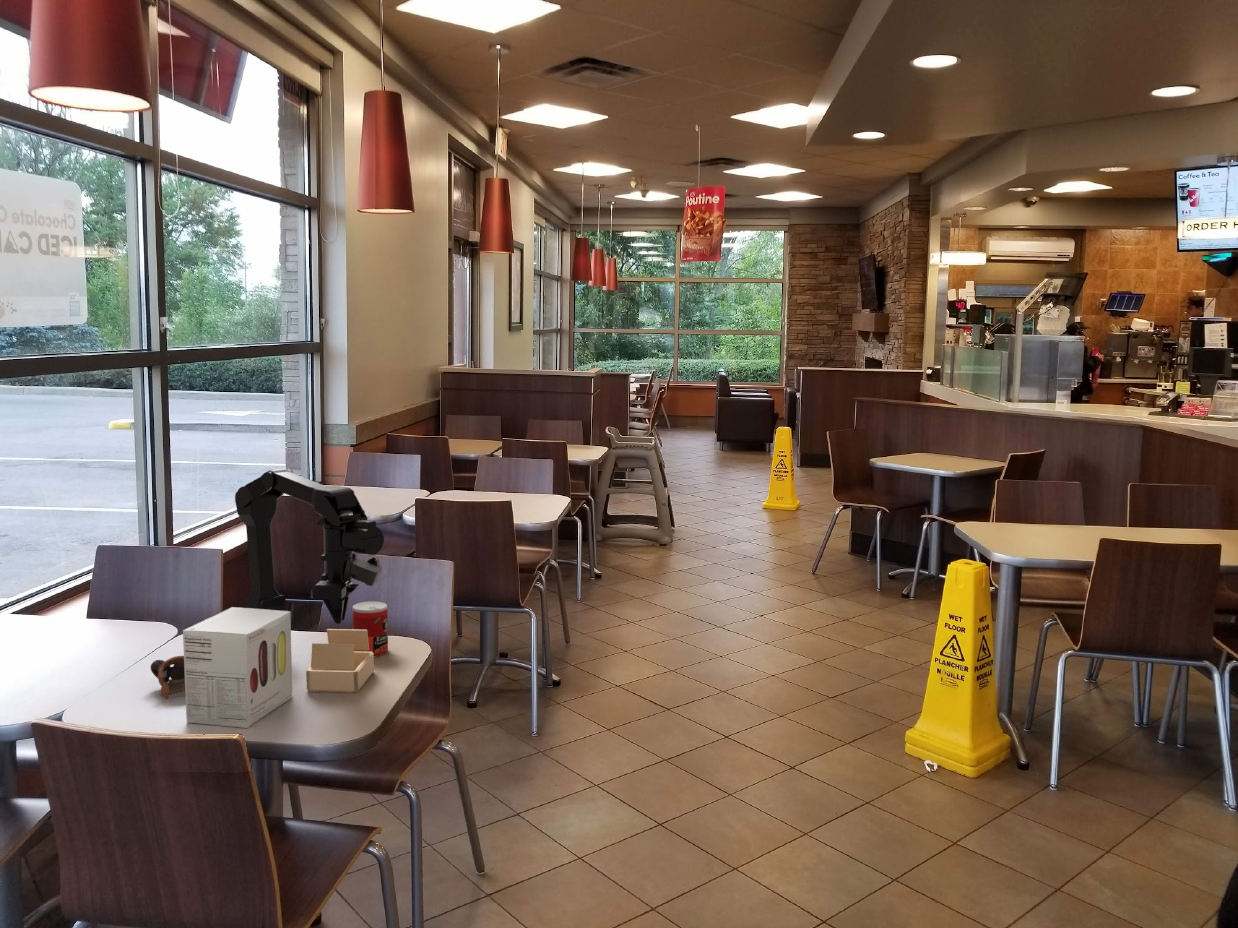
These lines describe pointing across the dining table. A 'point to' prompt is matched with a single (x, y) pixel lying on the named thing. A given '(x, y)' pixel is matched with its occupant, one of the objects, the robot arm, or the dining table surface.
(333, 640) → the far flap
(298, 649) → the dining table surface
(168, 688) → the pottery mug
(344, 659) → the near flap
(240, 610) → the supplement box
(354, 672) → the carton
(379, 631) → the canned food
